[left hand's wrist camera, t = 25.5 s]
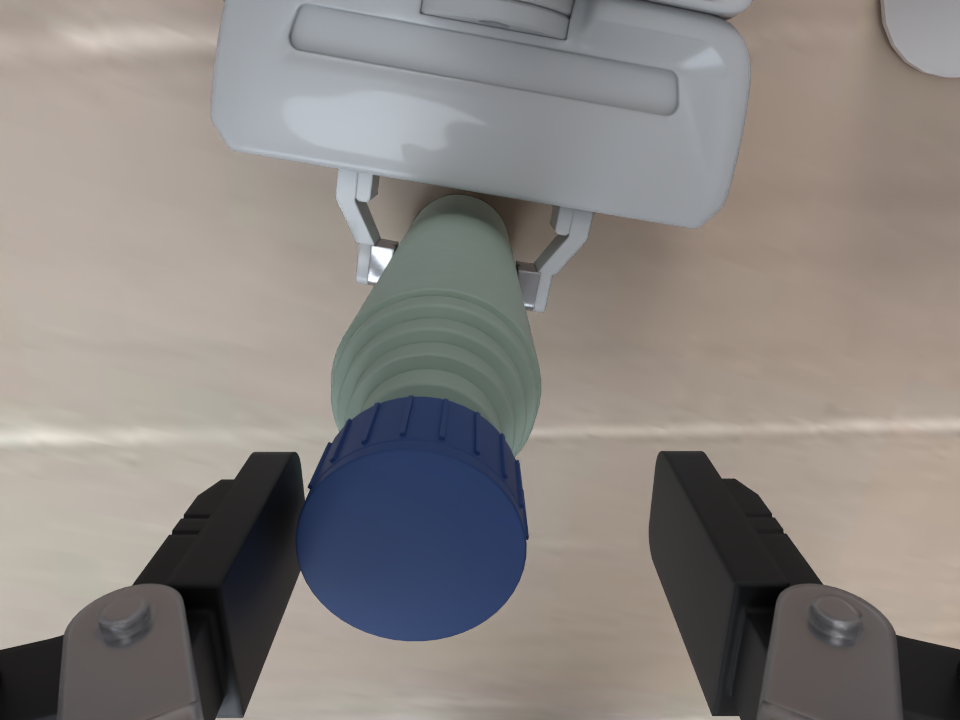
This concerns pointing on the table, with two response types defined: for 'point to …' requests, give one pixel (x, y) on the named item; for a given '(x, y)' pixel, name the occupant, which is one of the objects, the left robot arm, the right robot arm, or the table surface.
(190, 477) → the table surface
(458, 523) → the cap
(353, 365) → the bottle
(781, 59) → the table surface
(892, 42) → the mug
